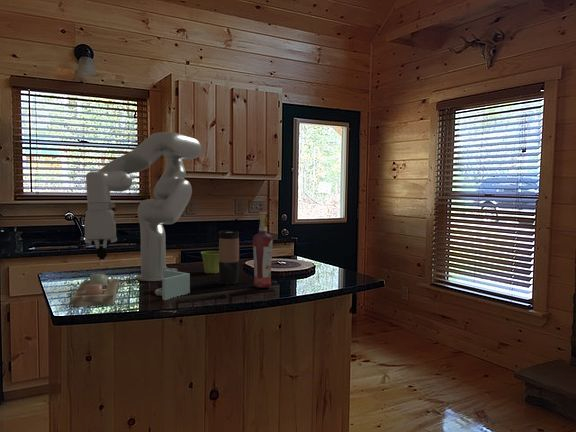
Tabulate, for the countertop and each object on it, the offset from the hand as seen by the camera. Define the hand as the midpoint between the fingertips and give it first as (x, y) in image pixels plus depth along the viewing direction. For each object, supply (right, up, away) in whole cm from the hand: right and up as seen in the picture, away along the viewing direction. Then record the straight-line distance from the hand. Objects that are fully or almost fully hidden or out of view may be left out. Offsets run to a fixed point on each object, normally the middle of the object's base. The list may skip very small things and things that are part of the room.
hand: (102, 258), depth 173 cm
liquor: (+56, -12, +8) cm, 58 cm away
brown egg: (+3, -12, -15) cm, 20 cm away
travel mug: (+43, -11, +15) cm, 47 cm away
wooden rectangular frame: (+1, -12, -8) cm, 14 cm away
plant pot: (+33, -9, +36) cm, 50 cm away
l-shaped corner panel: (+23, -13, -4) cm, 27 cm away
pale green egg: (+1, -10, -8) cm, 13 cm away
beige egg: (-1, -11, 0) cm, 11 cm away
